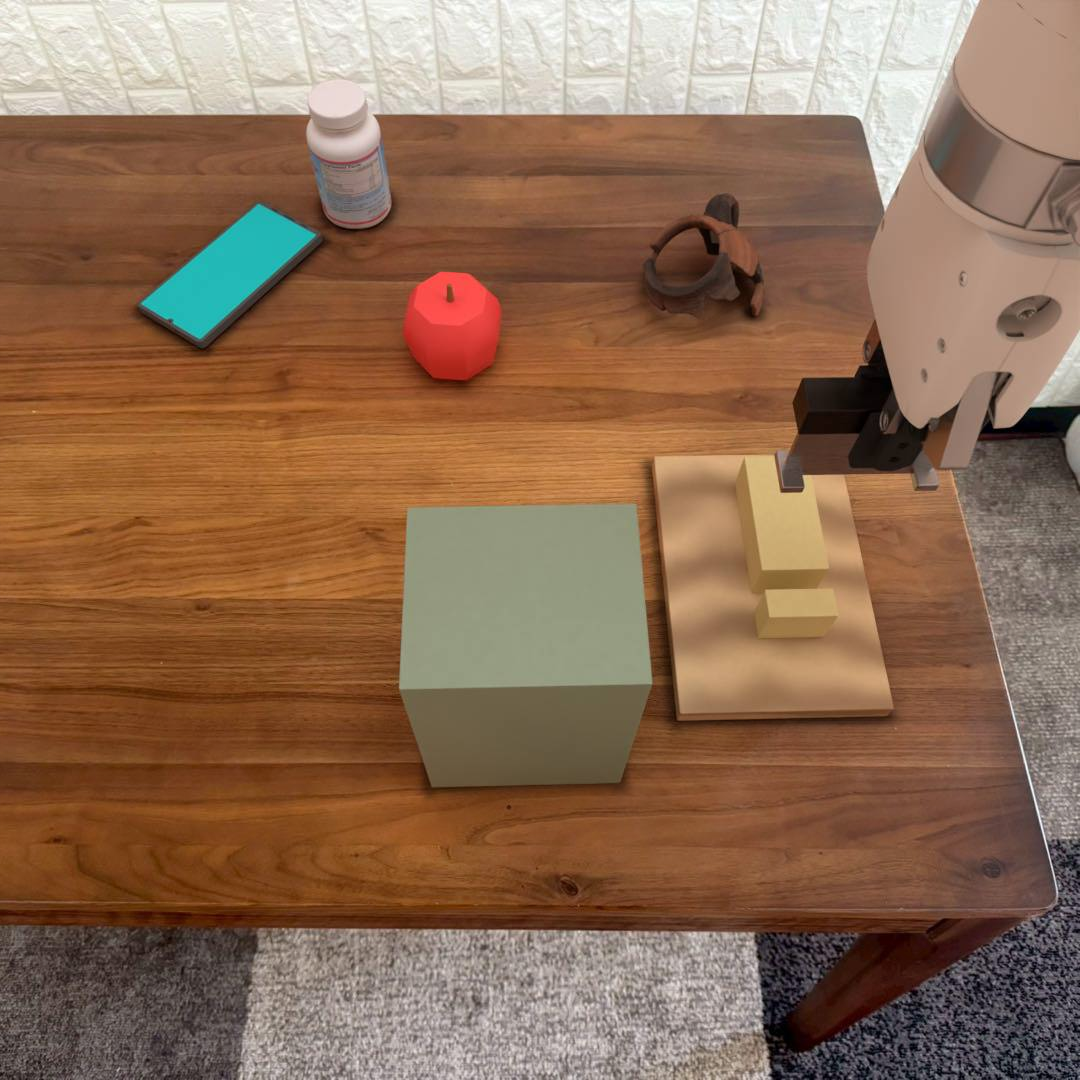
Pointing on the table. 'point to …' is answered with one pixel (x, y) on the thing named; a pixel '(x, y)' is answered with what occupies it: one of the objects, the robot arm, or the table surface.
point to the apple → (452, 325)
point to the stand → (524, 642)
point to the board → (728, 606)
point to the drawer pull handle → (839, 432)
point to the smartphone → (230, 273)
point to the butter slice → (795, 613)
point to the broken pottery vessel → (720, 241)
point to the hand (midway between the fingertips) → (873, 438)
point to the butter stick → (779, 529)
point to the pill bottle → (347, 155)
